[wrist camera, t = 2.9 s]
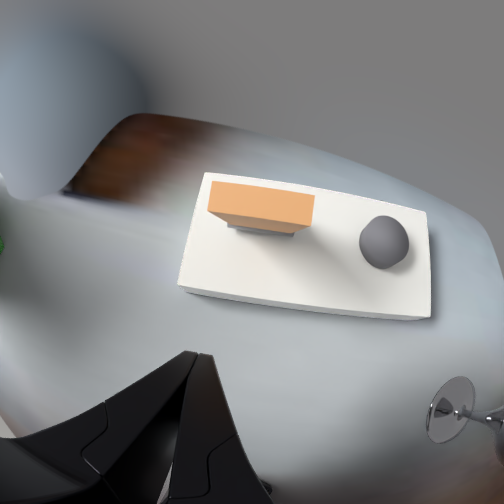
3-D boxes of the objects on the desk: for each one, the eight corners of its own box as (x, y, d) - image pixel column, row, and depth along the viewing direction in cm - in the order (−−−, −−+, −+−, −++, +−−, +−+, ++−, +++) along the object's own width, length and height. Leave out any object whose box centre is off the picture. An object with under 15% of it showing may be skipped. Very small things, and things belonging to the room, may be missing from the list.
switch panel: (410, 320, 20) (430, 316, 17) (186, 292, 21) (177, 284, 18) (409, 225, 23) (425, 212, 20) (209, 191, 24) (205, 172, 21)
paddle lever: (291, 237, 19) (315, 232, 10) (229, 228, 19) (201, 215, 10) (294, 214, 19) (320, 191, 10) (232, 205, 19) (207, 175, 10)
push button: (400, 271, 18) (409, 266, 17) (358, 265, 18) (366, 259, 17) (399, 227, 19) (407, 220, 18) (359, 219, 19) (365, 211, 18)
